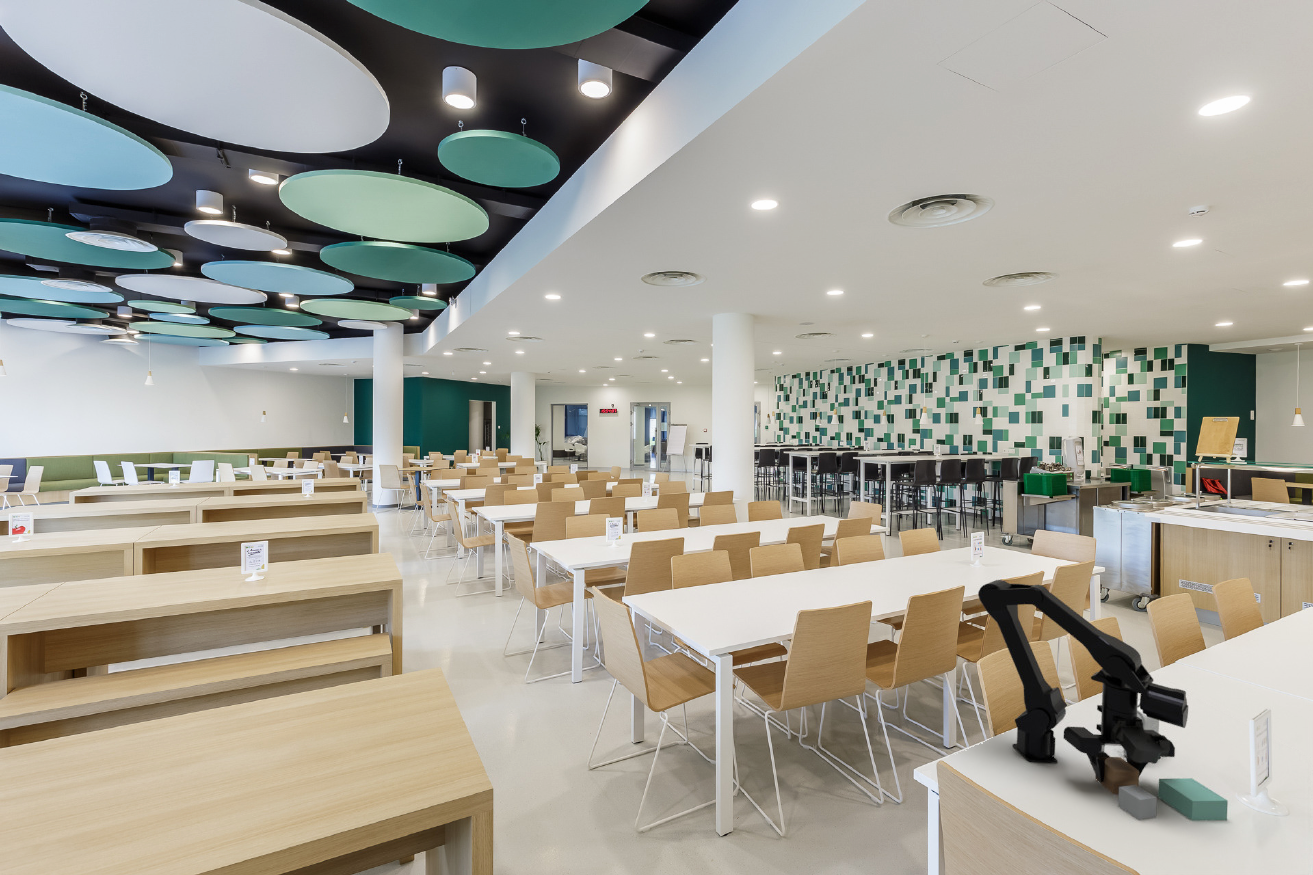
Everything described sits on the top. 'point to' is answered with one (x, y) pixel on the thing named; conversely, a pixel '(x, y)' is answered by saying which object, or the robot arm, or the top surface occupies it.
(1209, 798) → the teal base block
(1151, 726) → the photo printer
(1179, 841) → the top surface
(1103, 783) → the walnut cube
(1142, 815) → the slate block
